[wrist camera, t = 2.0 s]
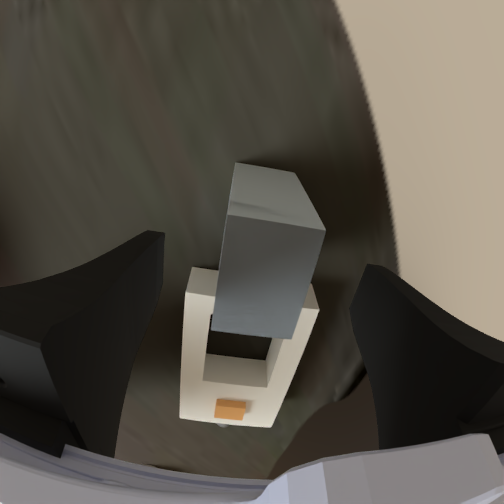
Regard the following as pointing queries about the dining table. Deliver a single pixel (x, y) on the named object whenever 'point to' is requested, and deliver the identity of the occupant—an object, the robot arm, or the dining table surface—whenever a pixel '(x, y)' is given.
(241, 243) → the plug
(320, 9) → the dining table surface
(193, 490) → the robot arm
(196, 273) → the white rectangular frame
